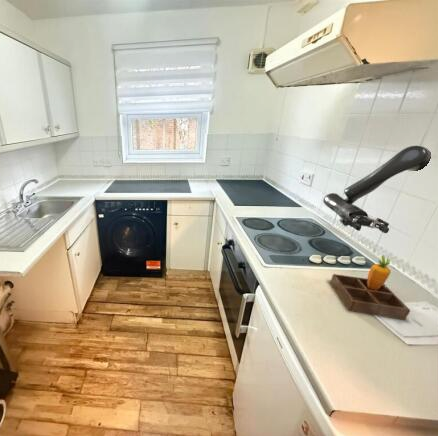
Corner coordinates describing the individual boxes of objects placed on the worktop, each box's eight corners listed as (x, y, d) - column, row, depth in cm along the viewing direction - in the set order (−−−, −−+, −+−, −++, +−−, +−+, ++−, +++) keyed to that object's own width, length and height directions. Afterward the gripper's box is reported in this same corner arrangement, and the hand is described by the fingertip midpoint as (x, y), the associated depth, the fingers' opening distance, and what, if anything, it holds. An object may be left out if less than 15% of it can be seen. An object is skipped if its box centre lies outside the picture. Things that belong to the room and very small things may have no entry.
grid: (376, 289, 90) (381, 280, 88) (405, 320, 76) (410, 310, 74) (329, 282, 93) (333, 273, 92) (348, 310, 80) (352, 301, 78)
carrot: (379, 299, 84) (396, 263, 78) (361, 292, 87) (376, 257, 81) (379, 292, 87) (396, 257, 81) (361, 286, 90) (376, 252, 84)
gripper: (335, 205, 104) (354, 218, 90) (374, 207, 101) (400, 222, 86) (330, 220, 107) (348, 236, 93) (368, 223, 103) (392, 240, 89)
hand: (373, 229), depth 89 cm, fingers open, 8 cm apart
